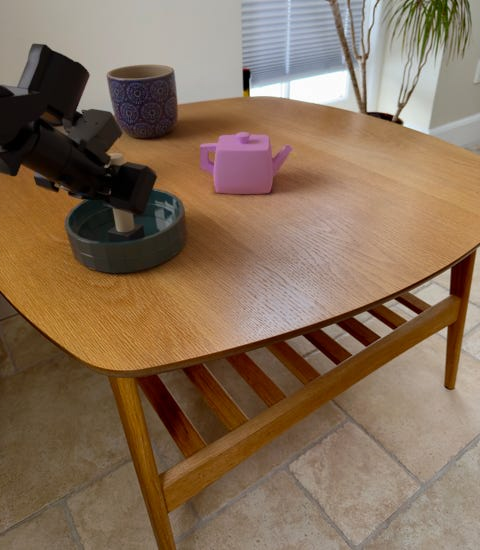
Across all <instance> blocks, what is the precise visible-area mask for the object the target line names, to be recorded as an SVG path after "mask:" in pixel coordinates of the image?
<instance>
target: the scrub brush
mask: <svg viewBox="0 0 480 550" xmlns="http://www.w3.org/2000/svg"><path fill="white" fill-rule="evenodd" d="M107 154H108V155H109V156H111V159H110V162H109V164H108V165H105V168H108V167H109V166H110V165H111V164H114V165H120V166H121V165H122V164H124V163H126V162H125V155H124V154H123V153H120V152H111V153H107ZM108 175H109V174H108ZM109 176H110V175H109ZM113 213H114V218H115V224H116V226H115V227H113V228H112V229H111V230H109V231H108V237H109V242H125V241H131V240H137V239H141V238H144V237H145V233H144V226H143V225H139V224H134V219H133V214H131V213H128V212H124V211H122V210H119V209H114V208H113Z"/></svg>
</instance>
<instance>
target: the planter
mask: <svg viewBox="0 0 480 550" xmlns="http://www.w3.org/2000/svg"><path fill="white" fill-rule="evenodd" d="M175 74H176V73H175V69H174V68H173V67H171V66H168V65H164V64H163V65H162V64H135V65H126V66H121V67H117V68H114V69H111V70H110V71H107V73H106V81H107V87H108V88H107V89H108V93H109V97H110V102H111V106H112V111H113V113H114V114H113V116H114V118H115V120H116V121H117V123H118V125H119V126H120V128H121V130H122V132H123V133H125V134H126V135H128V136H130V137H133V138H137V139H153V138H160V137H163V136H165V135H167V134H168V133H170V132H171V131H172V130H173V129H174V128H175V126H176V124H177V121H178V117H179V105H178V103H179V102H178V91H177V81H176V75H175Z"/></svg>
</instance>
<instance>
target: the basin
mask: <svg viewBox="0 0 480 550" xmlns="http://www.w3.org/2000/svg"><path fill="white" fill-rule="evenodd" d="M104 201H105V200H83V201H81V202H79V203H77V204H76V205H75V206H74V207H72V208H71V209H70V210H69V211H68V213H67V215H66V216H65V218H64V229H65V233H66V235H67V239H68V242H69V245H70V248H71V251H72V252H71V253H72V254H73V256H74V258H75V260H76V261H77V262H79V264H81V265H83V266H84V267H85V268H88V269H91V270H94V271H97V272H104V273H111V274H125V273H126V274H127V273H134V272H135V273H136V272H140V271H144V270H147V269H151V268H154V267H156V266H159V265H161V264H163V263H164V262H166V261H168V260H170V259H172V258H173V257H174V256H175V255H177V254H178V253H179V252H180V251H181V250H182V249H183V247H184V245H185V244H186V242H187V238H188V229H187V219H186V211H185V205H184V204H183V201H182V200H181V199H180V198H179V197H178V196H177V195H176V194H174V193H171V192H169V191H167V190H163V189H158V188H155V187H153V189H152V192H151V195H150V198H149V200H148V203H147V206H146V209H145V211H144V213H143V214H141V215H135V214H133V219H134V224H139V225H143V226H144V233H145V237H144V238H141V239H137V240H131V241H125V242H109V237H108V231H109V230H111V229H112V228H113V227H115V226H116V224H115V218H114V213H113V208H110V207H107V206H103V204H104Z"/></svg>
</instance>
